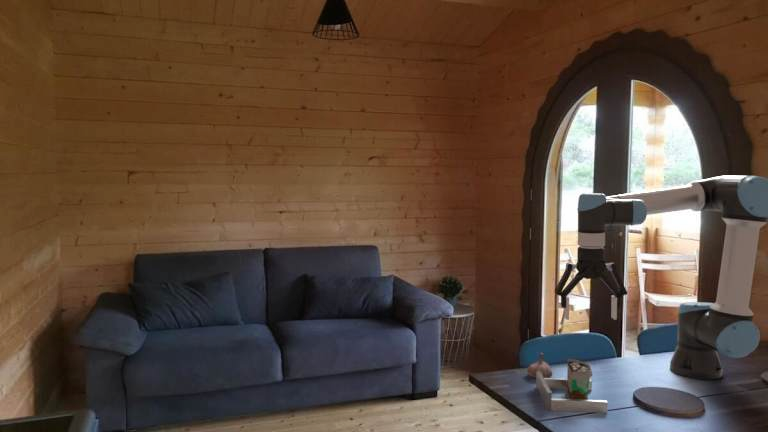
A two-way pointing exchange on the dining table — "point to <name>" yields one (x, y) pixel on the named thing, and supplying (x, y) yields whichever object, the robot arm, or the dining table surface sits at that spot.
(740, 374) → the dining table surface
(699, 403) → the dining table surface
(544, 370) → the garlic bulb
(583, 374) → the food container
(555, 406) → the rail dock
